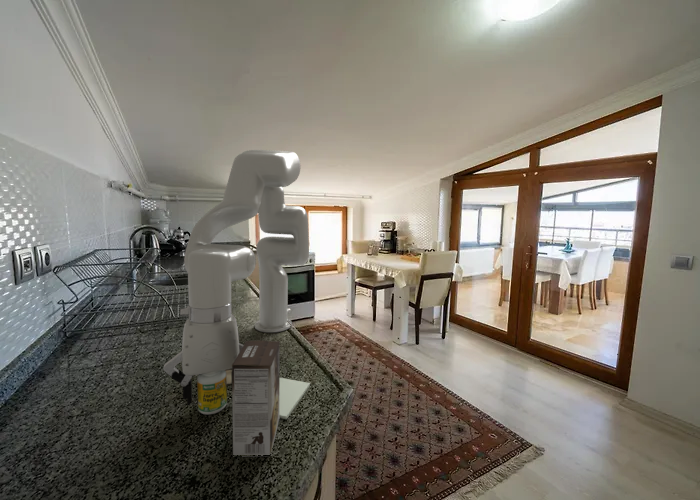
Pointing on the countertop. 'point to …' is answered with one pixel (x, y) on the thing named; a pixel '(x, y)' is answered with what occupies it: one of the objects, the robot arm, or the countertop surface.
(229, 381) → the letter cube
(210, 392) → the supplement bottle
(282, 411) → the sage pad
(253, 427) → the coffee box
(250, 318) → the countertop surface
